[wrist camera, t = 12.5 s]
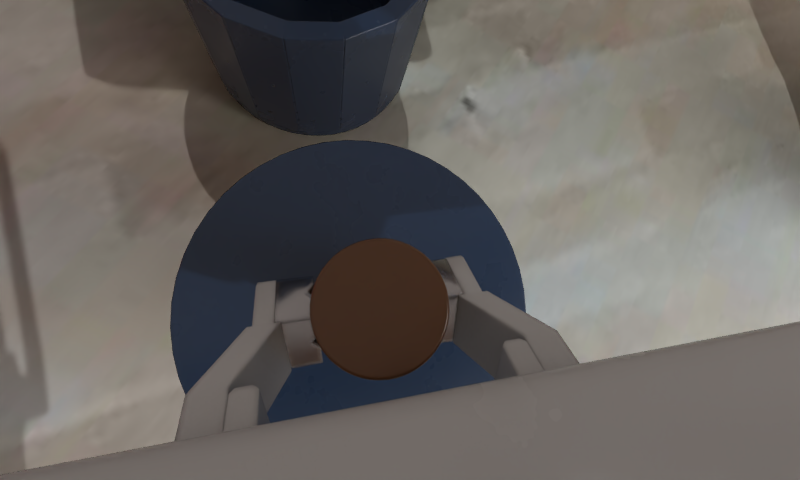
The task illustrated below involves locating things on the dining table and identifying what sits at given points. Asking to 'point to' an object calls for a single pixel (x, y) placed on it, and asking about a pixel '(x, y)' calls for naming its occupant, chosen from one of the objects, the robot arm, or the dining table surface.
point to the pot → (310, 57)
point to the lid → (343, 272)
